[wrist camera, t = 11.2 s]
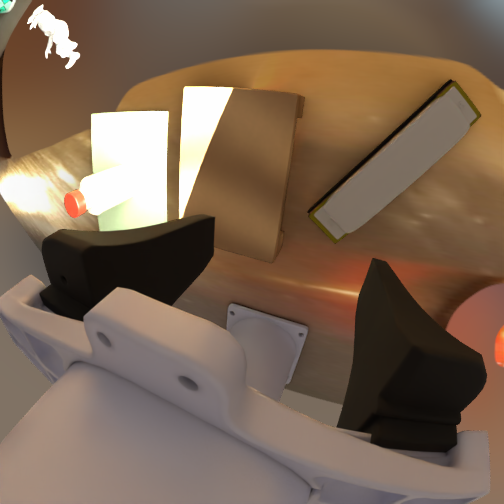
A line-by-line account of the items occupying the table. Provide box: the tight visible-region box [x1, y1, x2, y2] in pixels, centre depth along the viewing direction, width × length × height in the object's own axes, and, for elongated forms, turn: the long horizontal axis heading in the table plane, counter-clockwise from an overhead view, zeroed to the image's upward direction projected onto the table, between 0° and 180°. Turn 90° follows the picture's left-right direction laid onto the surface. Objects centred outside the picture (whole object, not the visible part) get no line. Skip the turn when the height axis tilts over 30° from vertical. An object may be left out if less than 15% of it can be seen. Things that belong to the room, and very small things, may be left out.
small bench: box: [179, 87, 305, 263], centre depth 20 cm, size 12×8×2 cm, turn 174°
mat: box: [91, 111, 168, 231], centre depth 25 cm, size 14×10×1 cm
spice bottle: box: [64, 164, 137, 218], centre depth 22 cm, size 4×4×7 cm
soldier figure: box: [28, 5, 80, 69], centre depth 18 cm, size 8×5×12 cm
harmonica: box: [308, 79, 481, 244], centre depth 16 cm, size 15×3×2 cm, turn 140°
